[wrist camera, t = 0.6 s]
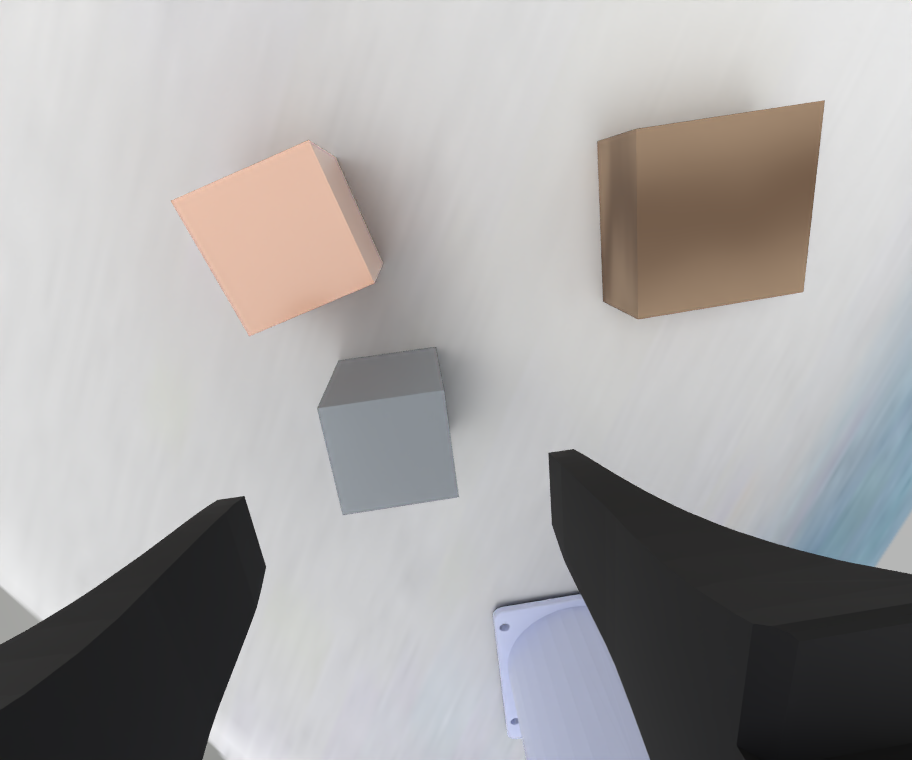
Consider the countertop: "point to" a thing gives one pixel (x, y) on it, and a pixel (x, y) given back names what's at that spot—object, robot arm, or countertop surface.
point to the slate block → (388, 431)
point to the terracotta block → (282, 236)
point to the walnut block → (708, 210)
